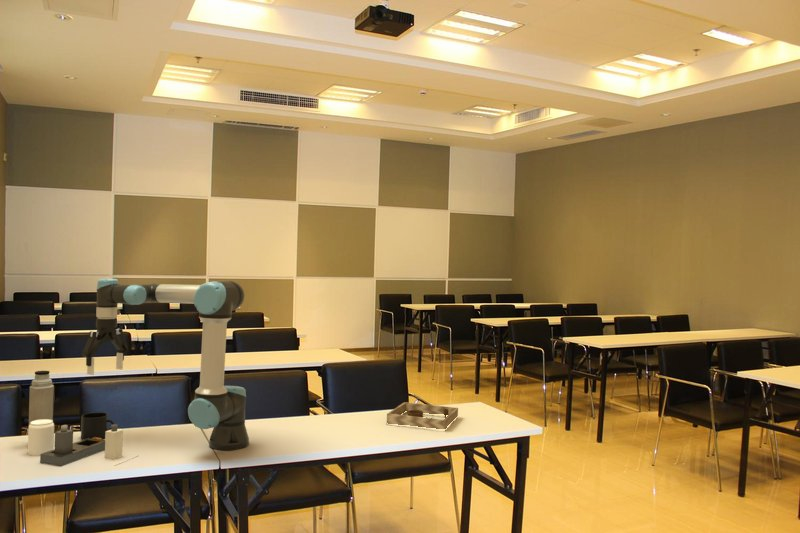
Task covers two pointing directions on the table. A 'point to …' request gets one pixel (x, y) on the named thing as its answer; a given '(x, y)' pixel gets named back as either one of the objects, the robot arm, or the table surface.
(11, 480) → the table surface
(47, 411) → the thermos bottle
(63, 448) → the twin plug
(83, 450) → the strip
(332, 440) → the table surface
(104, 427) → the mug
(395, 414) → the frame
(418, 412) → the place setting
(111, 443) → the plug
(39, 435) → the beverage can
